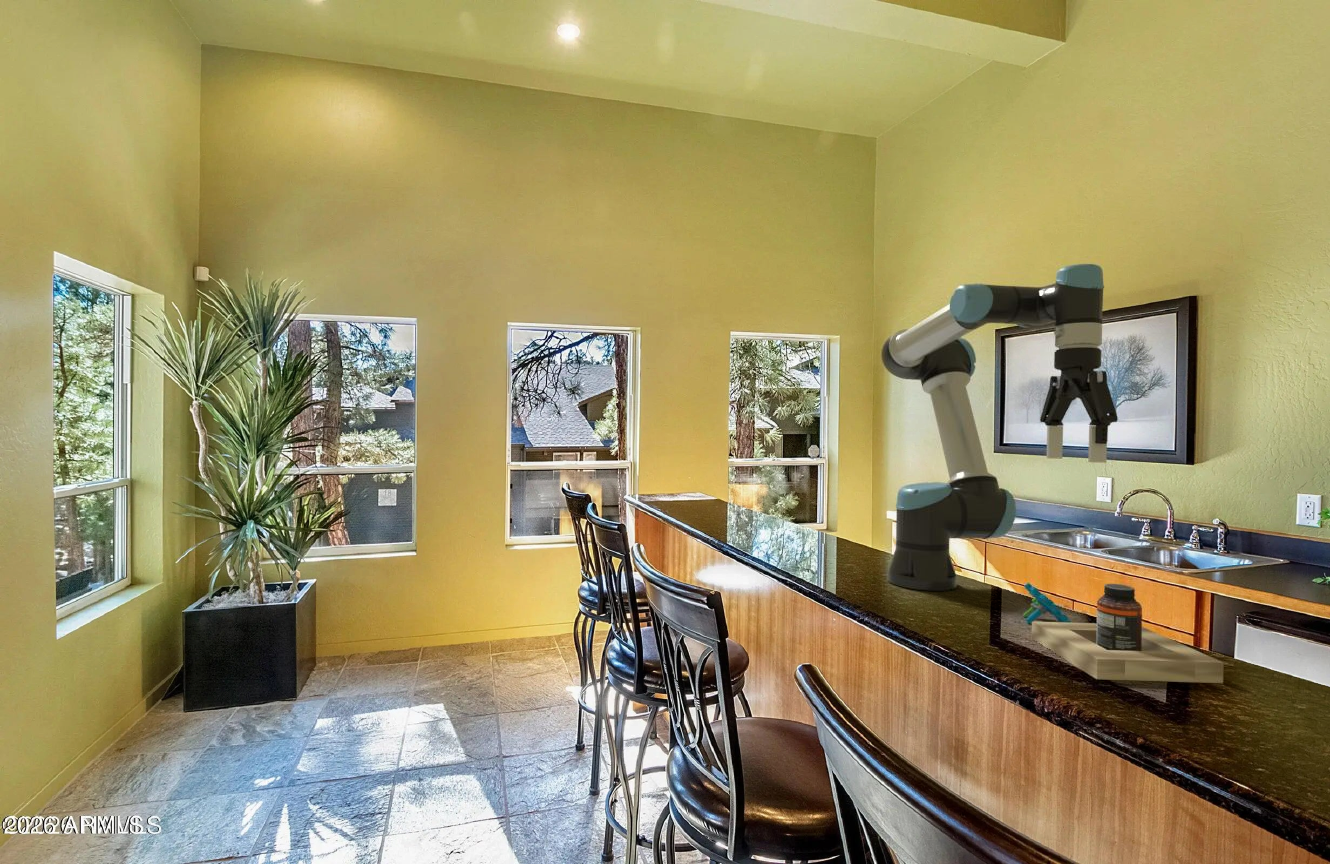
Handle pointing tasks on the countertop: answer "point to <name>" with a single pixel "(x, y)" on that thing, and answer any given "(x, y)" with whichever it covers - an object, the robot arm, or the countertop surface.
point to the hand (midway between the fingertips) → (1074, 460)
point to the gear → (1042, 606)
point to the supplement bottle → (1119, 619)
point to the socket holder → (1127, 655)
